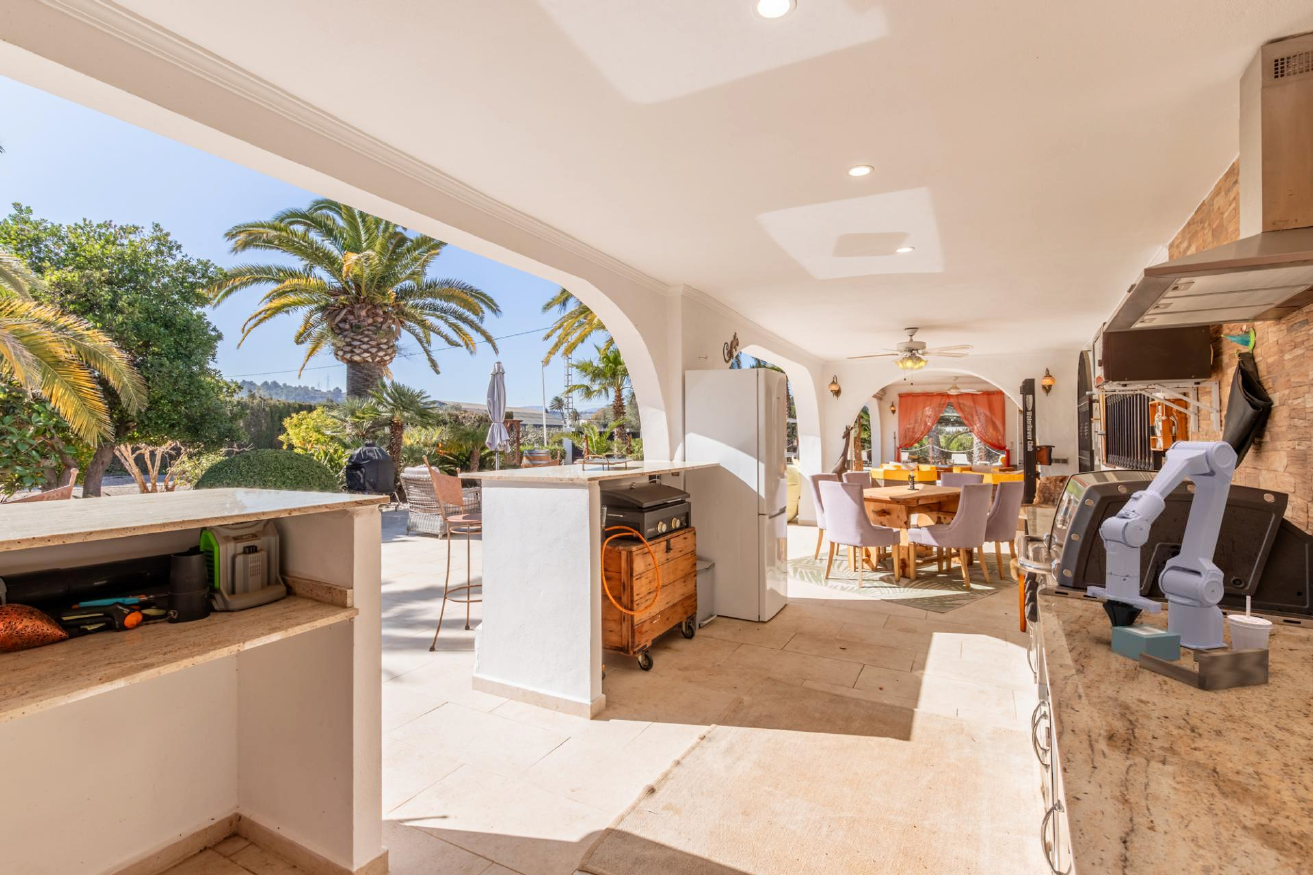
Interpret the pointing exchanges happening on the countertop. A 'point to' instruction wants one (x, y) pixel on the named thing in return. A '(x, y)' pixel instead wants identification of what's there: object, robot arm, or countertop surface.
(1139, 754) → the countertop surface
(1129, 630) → the carton
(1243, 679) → the display stand
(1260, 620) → the smoothie
